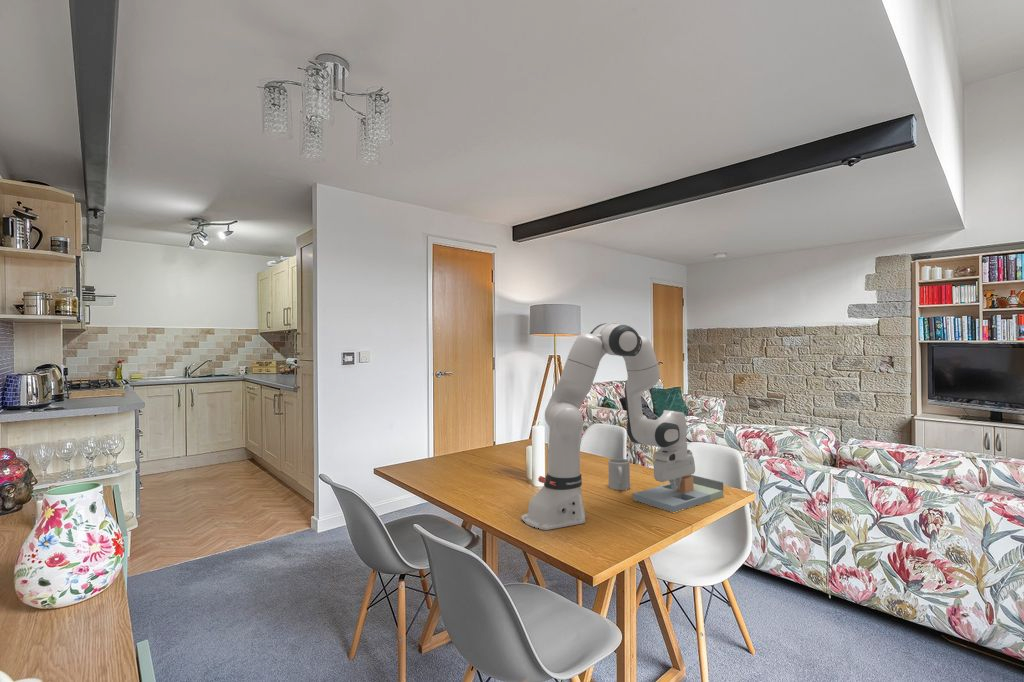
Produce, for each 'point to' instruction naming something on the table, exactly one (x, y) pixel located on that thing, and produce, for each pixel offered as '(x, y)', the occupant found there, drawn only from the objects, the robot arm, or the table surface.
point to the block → (686, 484)
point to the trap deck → (681, 495)
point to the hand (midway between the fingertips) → (675, 489)
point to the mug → (619, 474)
